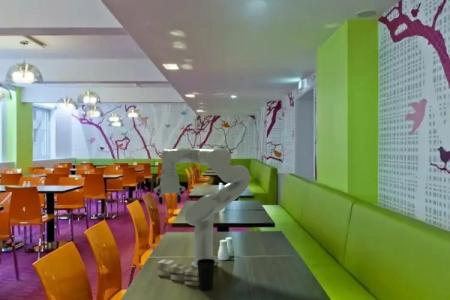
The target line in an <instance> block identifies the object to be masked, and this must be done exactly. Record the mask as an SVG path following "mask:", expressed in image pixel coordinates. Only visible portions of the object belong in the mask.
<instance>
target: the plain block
mask: <svg viewBox="0 0 450 300" xmlns="http://www.w3.org/2000/svg"><path fill="white" fill-rule="evenodd" d="M174 264H175V260H172V259H164V258H163V259H161V260H159V261H158V262H157V267H156V273H157V276H162V277H171V274H170V272H171V266H173V265H174Z"/></svg>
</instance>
